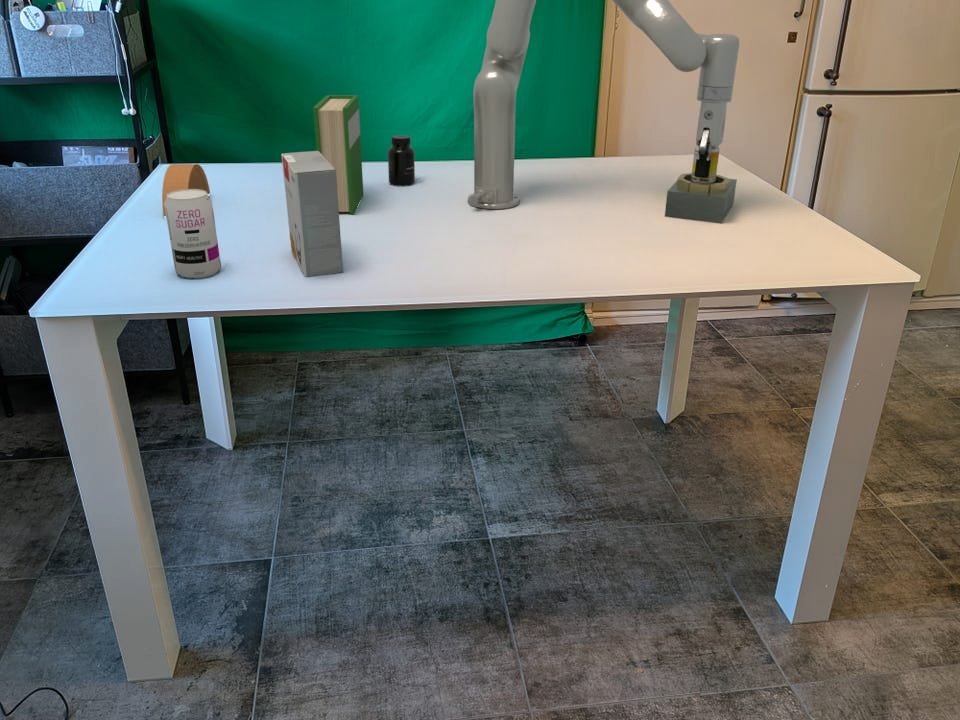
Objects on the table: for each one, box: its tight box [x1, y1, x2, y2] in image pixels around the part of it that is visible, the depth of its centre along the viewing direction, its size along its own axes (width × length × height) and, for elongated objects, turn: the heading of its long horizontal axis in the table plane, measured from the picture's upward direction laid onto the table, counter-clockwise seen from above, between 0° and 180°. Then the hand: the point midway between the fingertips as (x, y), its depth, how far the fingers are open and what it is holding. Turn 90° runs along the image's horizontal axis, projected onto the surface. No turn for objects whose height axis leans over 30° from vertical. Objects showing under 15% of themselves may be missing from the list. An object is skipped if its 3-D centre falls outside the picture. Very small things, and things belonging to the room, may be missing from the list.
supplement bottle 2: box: [691, 140, 720, 184], centre depth 190 cm, size 6×6×10 cm
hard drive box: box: [280, 150, 344, 278], centre depth 156 cm, size 16×8×20 cm, turn 21°
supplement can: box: [164, 189, 222, 280], centre depth 151 cm, size 8×8×15 cm
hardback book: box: [312, 94, 364, 216], centre depth 191 cm, size 18×7×24 cm, turn 0°
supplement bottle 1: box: [387, 134, 416, 187], centre depth 212 cm, size 7×7×12 cm
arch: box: [161, 163, 211, 217], centre depth 192 cm, size 6×20×10 cm, turn 2°
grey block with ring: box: [664, 172, 738, 225], centre depth 195 cm, size 22×13×8 cm, turn 157°
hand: (703, 173), depth 191 cm, fingers closed on supplement bottle 2, 5 cm apart
